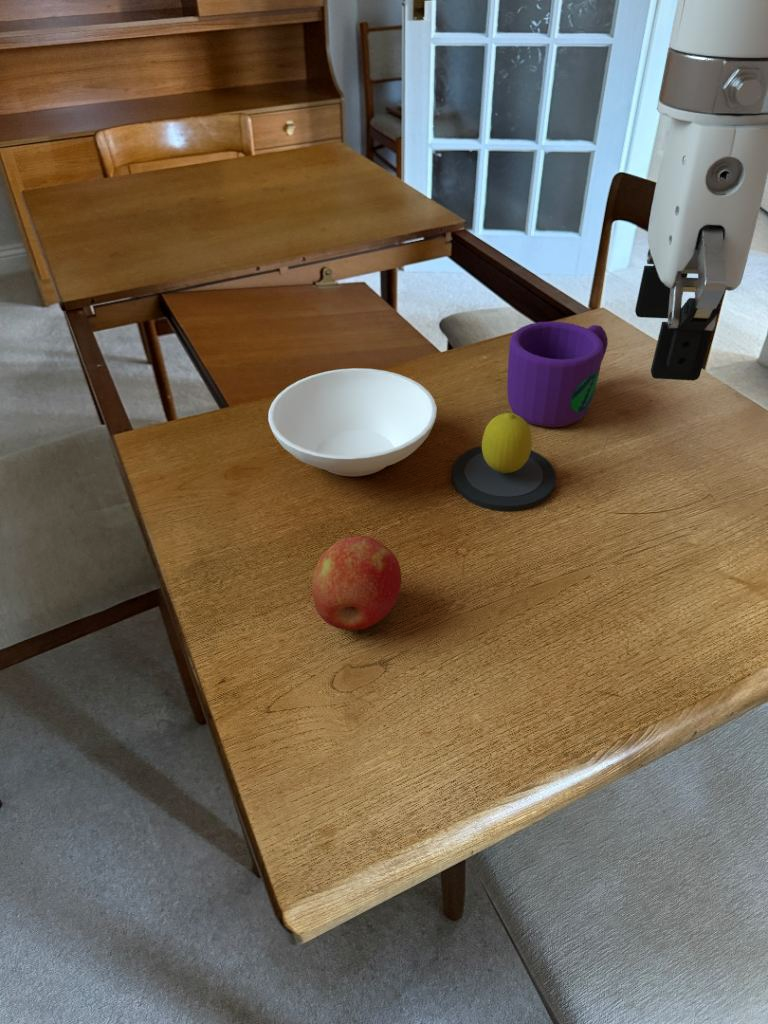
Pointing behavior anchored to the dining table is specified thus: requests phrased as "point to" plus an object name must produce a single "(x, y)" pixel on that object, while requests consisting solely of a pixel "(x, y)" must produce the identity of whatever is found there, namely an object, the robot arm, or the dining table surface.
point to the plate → (503, 482)
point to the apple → (356, 583)
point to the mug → (554, 371)
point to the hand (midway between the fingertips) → (663, 344)
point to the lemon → (506, 443)
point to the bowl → (352, 419)
